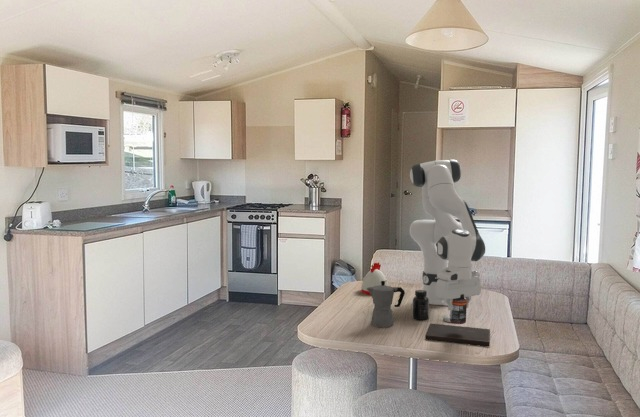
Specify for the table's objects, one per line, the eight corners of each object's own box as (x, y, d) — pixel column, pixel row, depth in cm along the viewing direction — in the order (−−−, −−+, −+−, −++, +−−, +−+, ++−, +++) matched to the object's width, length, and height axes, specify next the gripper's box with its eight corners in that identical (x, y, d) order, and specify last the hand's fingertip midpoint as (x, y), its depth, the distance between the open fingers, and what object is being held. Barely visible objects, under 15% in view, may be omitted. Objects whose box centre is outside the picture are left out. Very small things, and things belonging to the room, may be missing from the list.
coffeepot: (365, 326, 216) (366, 282, 214) (366, 320, 225) (367, 277, 224) (404, 328, 214) (405, 284, 212) (403, 321, 223) (404, 279, 222)
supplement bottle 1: (429, 317, 230) (430, 289, 229) (427, 321, 223) (428, 293, 222) (413, 315, 232) (414, 288, 231) (411, 320, 226) (411, 292, 224)
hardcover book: (429, 328, 216) (430, 323, 216) (489, 335, 209) (489, 329, 209) (425, 341, 201) (425, 335, 201) (489, 348, 194) (489, 342, 194)
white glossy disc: (453, 316, 232) (453, 313, 232) (467, 321, 225) (467, 318, 225) (439, 318, 228) (439, 316, 228) (452, 323, 221) (452, 321, 221)
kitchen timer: (393, 291, 275) (394, 262, 274) (378, 296, 265) (378, 266, 263) (371, 287, 284) (372, 259, 283) (355, 292, 274) (356, 263, 273)
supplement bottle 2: (456, 319, 208) (458, 290, 207) (469, 323, 203) (470, 293, 202) (446, 321, 205) (447, 292, 204) (459, 325, 200) (460, 295, 199)
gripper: (473, 269, 210) (472, 303, 212) (433, 273, 200) (432, 310, 201) (485, 272, 205) (484, 307, 206) (445, 277, 195) (444, 314, 196)
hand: (458, 308), depth 204 cm, fingers closed on supplement bottle 2, 6 cm apart
